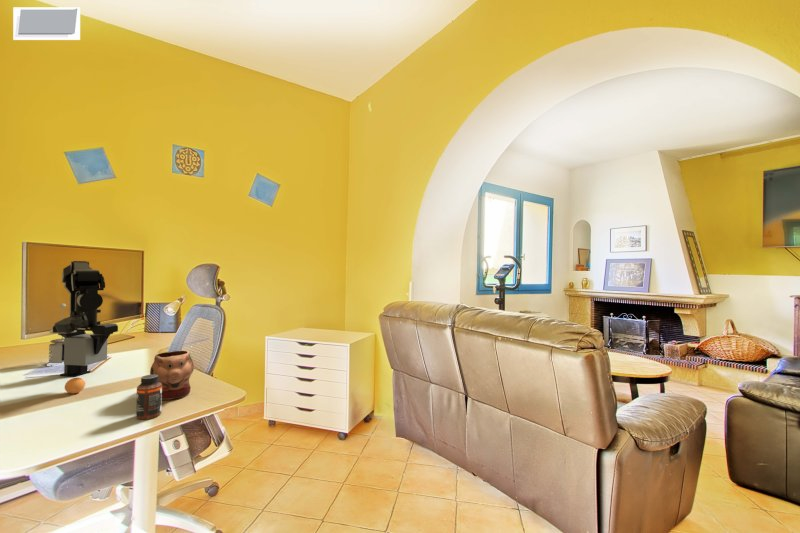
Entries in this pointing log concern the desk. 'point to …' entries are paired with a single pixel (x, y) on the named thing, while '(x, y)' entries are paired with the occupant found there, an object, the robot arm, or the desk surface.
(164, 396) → the decorative planter
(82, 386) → the brown egg
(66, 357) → the gray cube
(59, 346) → the french press
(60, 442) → the desk surface
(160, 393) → the supplement bottle
